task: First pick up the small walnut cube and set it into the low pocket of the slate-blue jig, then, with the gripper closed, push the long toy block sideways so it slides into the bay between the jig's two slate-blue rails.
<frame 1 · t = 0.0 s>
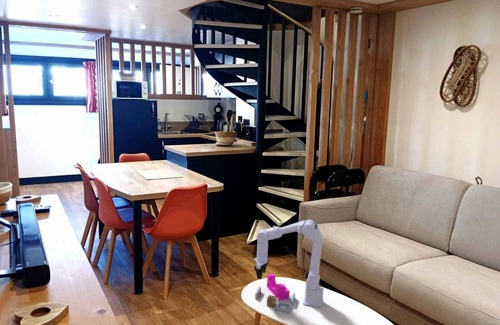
hand: (261, 275, 213), 10 cm above the table, tool pointing down, fingers open, 7 cm apart
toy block: (277, 293, 216), on the table
jig: (275, 298, 210), on the table
walnut cube: (271, 304, 204), on the table
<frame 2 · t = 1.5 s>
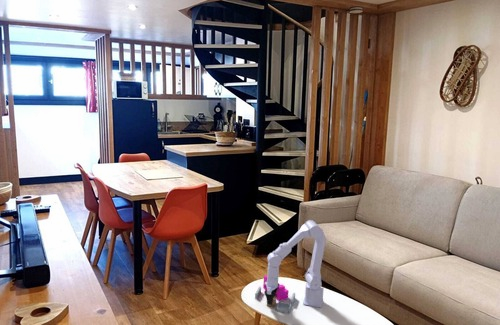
hand: (271, 300, 203), 2 cm above the table, tool pointing down, fingers open, 7 cm apart
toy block: (275, 293, 215), on the table, touching gripper
everything else where it was.
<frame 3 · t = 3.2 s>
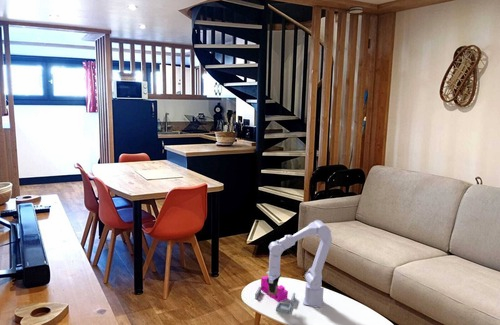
hand: (273, 289, 202), 8 cm above the table, tool pointing down, fingers closed on walnut cube, 4 cm apart
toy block: (273, 294, 214), on the table
walnut cube: (272, 292, 202), point 7 cm above the table, touching gripper
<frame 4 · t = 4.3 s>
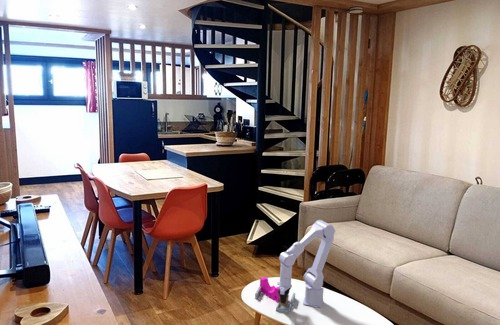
hand: (284, 300, 199), 4 cm above the table, tool pointing down, fingers closed on walnut cube, 4 cm apart
walnut cube: (283, 303, 200), point 3 cm above the table, touching gripper
when the fingers open (3 cm above the table, at t = 4.9 s): walnut cube drops 1 cm, resting on jig.
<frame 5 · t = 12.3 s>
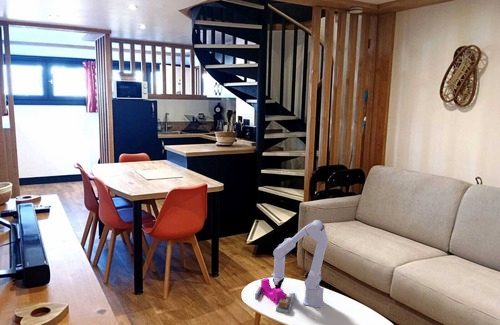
hand: (277, 290, 216), 1 cm above the table, tool pointing down, fingers closed
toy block: (273, 297, 211), on the table, touching gripper, jig
walnut cube: (283, 307, 200), resting on jig
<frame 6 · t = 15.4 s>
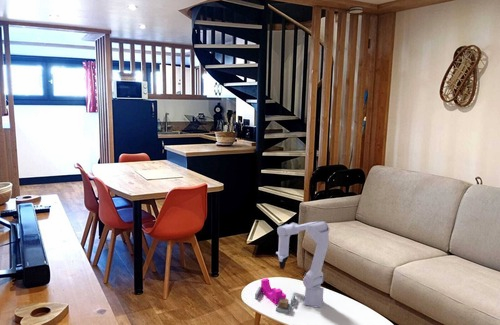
hand: (282, 268, 223), 10 cm above the table, tool pointing down, fingers closed
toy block: (272, 297, 211), on the table
everything else where it was.
at the end: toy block inside the target area (2.6 cm from its centre), on the table; walnut cube 0.2 cm from the target spot, resting on jig; the gripper is holding nothing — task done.
